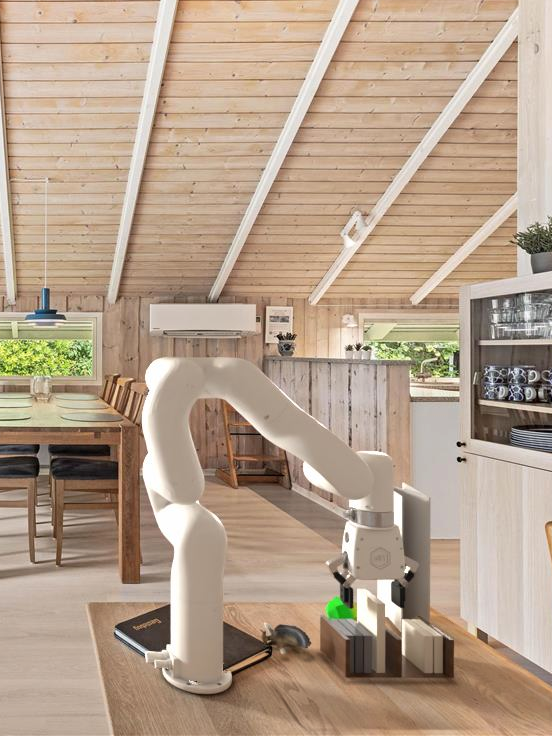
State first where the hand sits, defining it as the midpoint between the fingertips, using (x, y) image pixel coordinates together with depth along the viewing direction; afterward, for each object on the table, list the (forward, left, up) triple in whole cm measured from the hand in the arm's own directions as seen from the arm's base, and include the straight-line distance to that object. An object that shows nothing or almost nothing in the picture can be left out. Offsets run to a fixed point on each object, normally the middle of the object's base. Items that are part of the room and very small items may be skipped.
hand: (372, 605), depth 120 cm
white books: (+10, 0, -11) cm, 15 cm away
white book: (0, 0, -11) cm, 11 cm away
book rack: (+2, 0, -12) cm, 12 cm away
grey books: (-4, 0, -11) cm, 12 cm away
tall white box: (+17, +19, -12) cm, 28 cm away
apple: (+4, +18, -12) cm, 22 cm away
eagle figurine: (-15, +5, -12) cm, 20 cm away
